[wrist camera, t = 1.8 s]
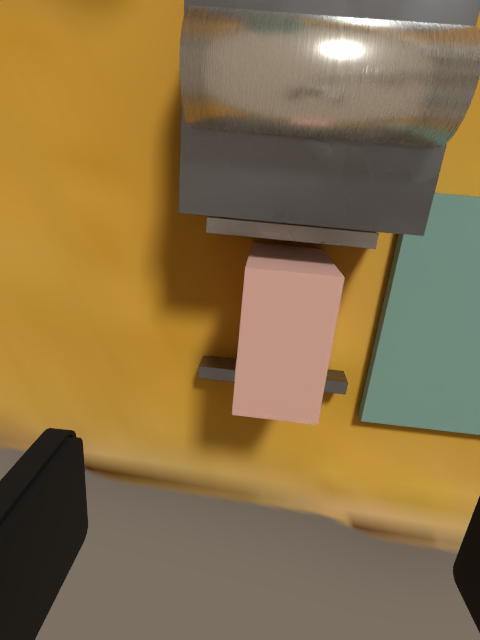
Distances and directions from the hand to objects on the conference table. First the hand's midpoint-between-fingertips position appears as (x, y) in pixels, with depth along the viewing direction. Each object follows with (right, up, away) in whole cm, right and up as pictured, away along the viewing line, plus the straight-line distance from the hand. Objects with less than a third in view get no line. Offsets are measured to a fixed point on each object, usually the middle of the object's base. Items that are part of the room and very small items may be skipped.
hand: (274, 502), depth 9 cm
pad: (+14, +4, +14) cm, 20 cm away
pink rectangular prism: (+2, +5, +14) cm, 15 cm away
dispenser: (+2, +10, +12) cm, 16 cm away
